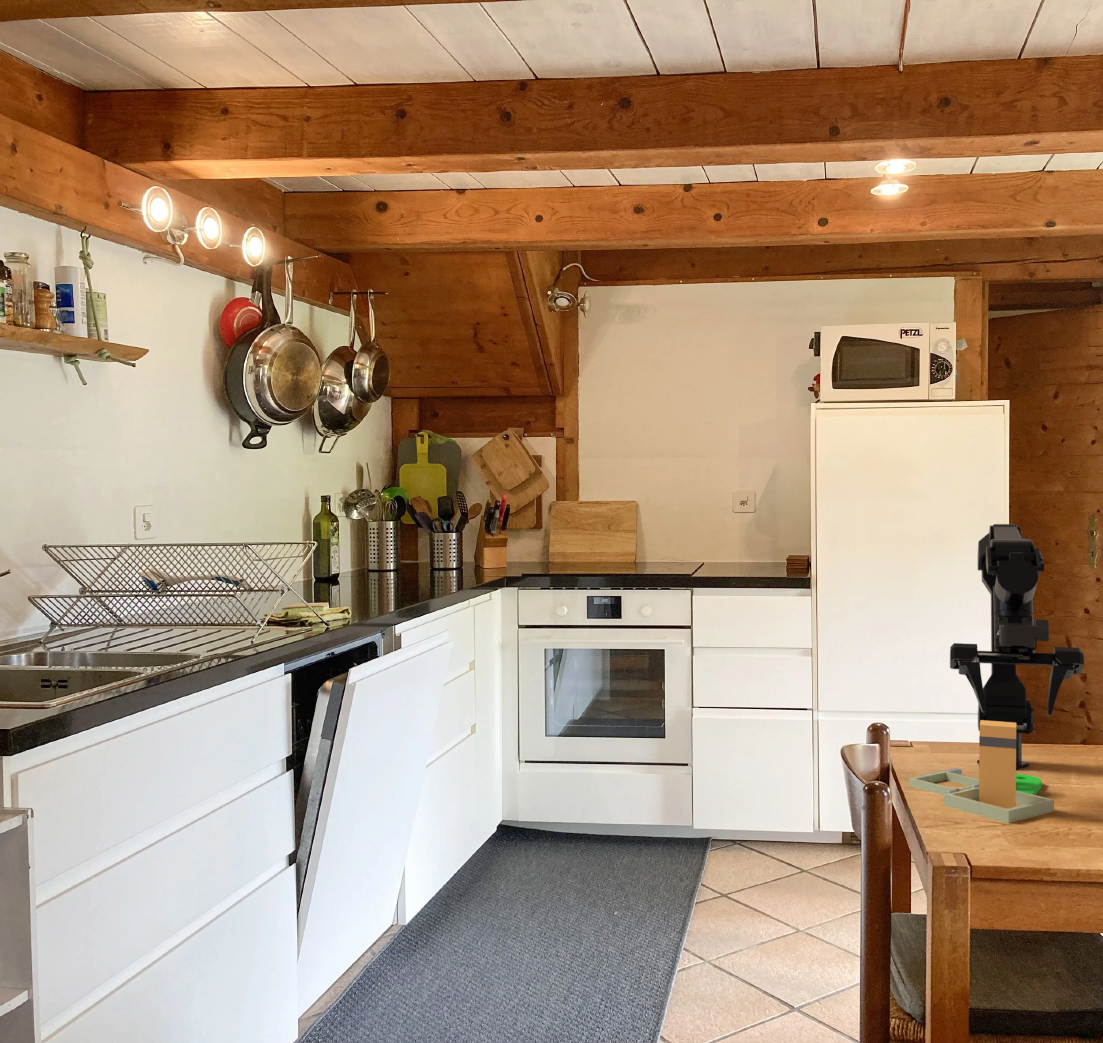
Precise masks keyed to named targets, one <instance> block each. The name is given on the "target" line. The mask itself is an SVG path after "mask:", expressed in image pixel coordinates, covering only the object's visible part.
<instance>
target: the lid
mask: <svg viewBox="0 0 1103 1043" xmlns="http://www.w3.org/2000/svg"><path fill="white" fill-rule="evenodd" d="M932 773H933V772H932ZM927 774H928V773H927ZM922 775H923V774H922ZM942 781H946V782H947V781H948V782H952V783H956V784H960V785H965V786H962V787H958V788H957V787H956V789H960V790H964V789H969V788H971V786H972V785H977V784H979V779H978V778H975V777H970V776H967V775H963V774H962V775H959V774H955V773H950V772H946V771H943V772H938V773H933V774H928V775H923V776H918V775H917V776H913V777H909V778H908V786H909V787H911V788H915V789H918V790H922V791H927V792H930V793H933V794H938V795H942V796H944V794H946V791H949V790H954V789H955V788H953V787H950V786H945V785H941V784H938V782H942Z"/></svg>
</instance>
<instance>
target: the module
mask: <svg viewBox="0 0 1103 1043" xmlns="http://www.w3.org/2000/svg"><path fill="white" fill-rule="evenodd" d="M978 738H979V739H978V740H979V743H978V744H979V758H978V760H979V763H978V764H979V768H978V769H979V770H978V772H979V773H978V775H979V776H978V777H979V800H978V801H979V802H983V803H987V804H990V805H994V806H998V807H1002V808H1006V809H1008V808H1013V807H1017V805H1016V774H1017V768H1016V723H1013V722H1000V721H986V720H980V731H979V736H978Z"/></svg>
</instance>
